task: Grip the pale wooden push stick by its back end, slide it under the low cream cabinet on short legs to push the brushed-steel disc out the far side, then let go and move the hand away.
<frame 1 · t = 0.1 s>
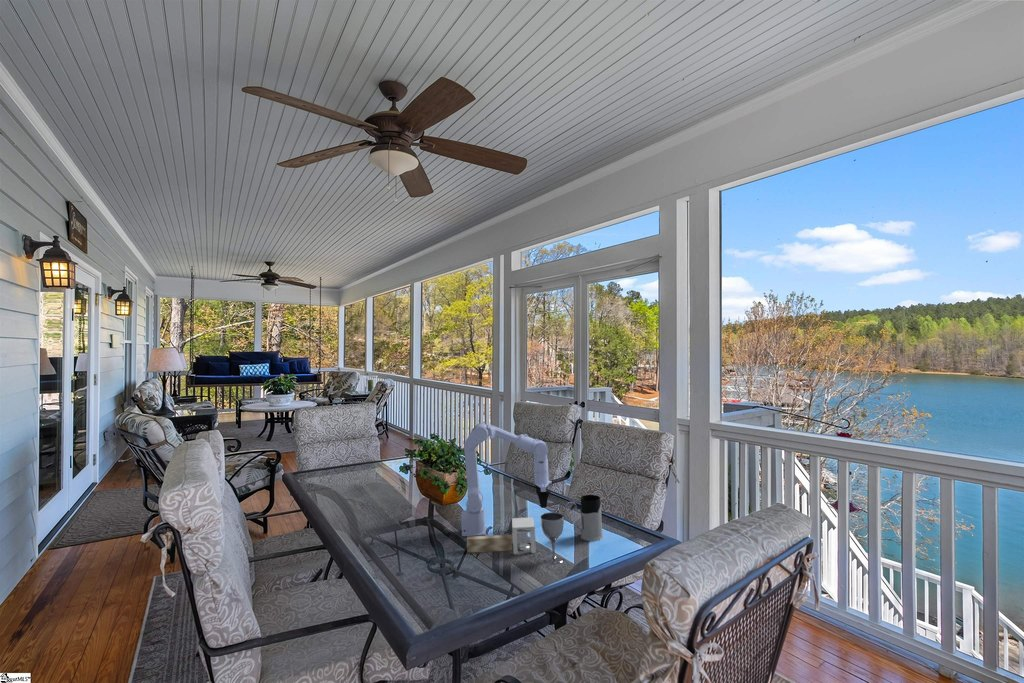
hand: (542, 504, 191), 10 cm above the table, tool pointing down, fingers open, 7 cm apart
push stick: (489, 550, 173), on the table
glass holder: (585, 537, 181), on the table
low cabinet: (524, 548, 173), on the table
wine glass: (554, 560, 162), on the table
steel disc: (524, 549, 173), on the table
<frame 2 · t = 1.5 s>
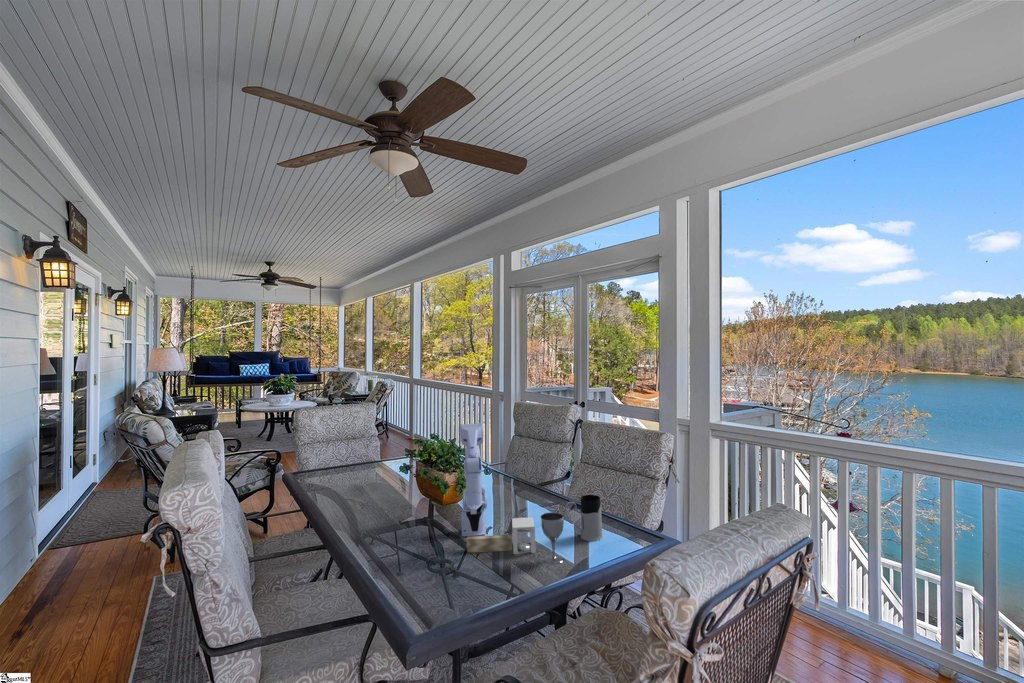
hand: (475, 527, 173), 8 cm above the table, tool pointing down, fingers open, 7 cm apart
nothing on the table moved.
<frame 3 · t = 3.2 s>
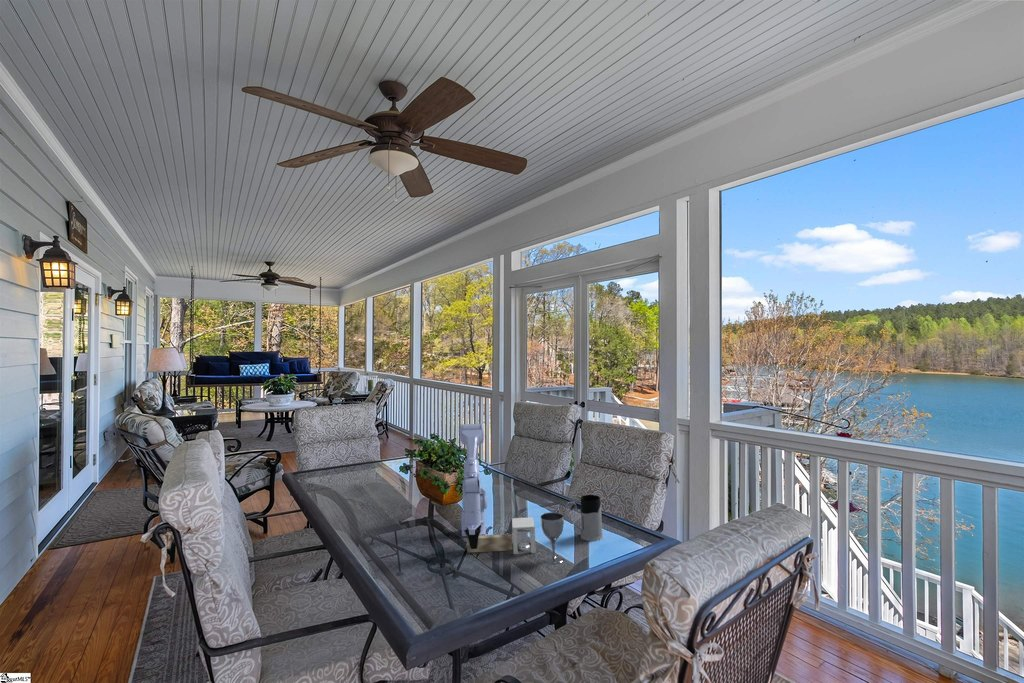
hand: (474, 546, 173), 1 cm above the table, tool pointing down, fingers closed on push stick, 2 cm apart
push stick: (489, 549, 173), on the table, touching gripper
everything else where it was.
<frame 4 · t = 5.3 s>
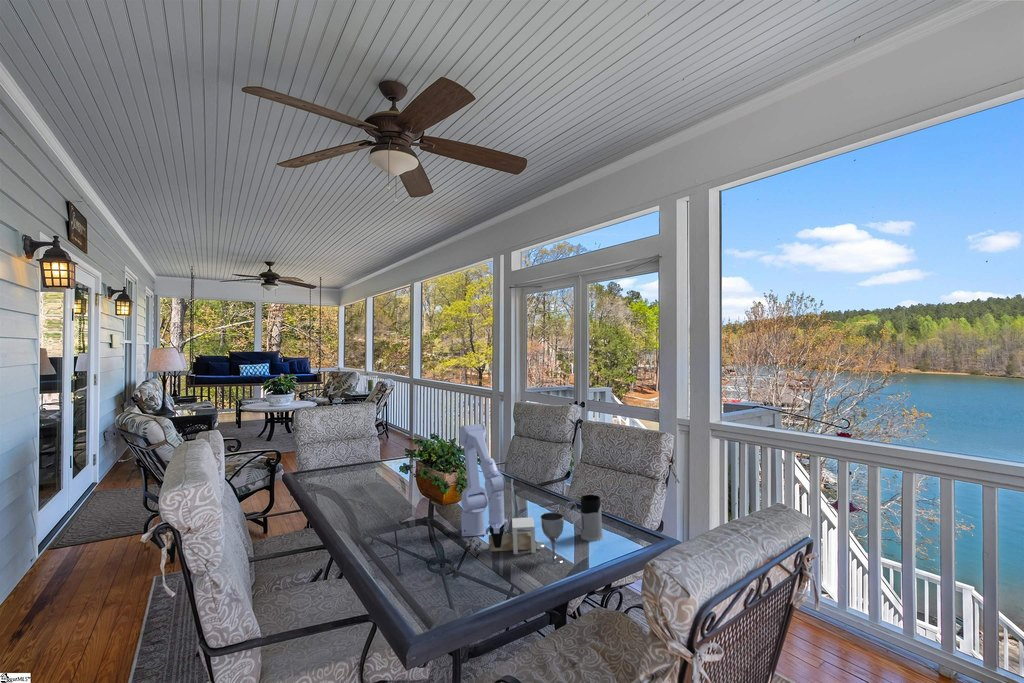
hand: (497, 545, 173), 1 cm above the table, tool pointing down, fingers closed on push stick, 2 cm apart
push stick: (511, 548, 173), on the table, touching gripper
steel disc: (539, 547, 173), on the table
everything else where it was.
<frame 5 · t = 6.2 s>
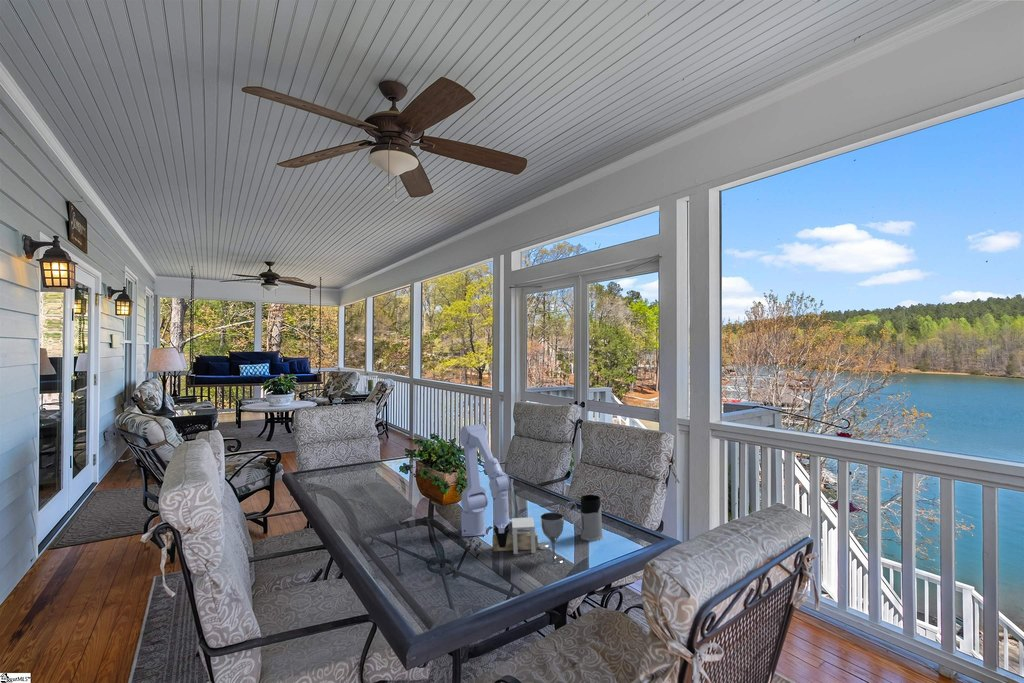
hand: (502, 545, 173), 1 cm above the table, tool pointing down, fingers closed on push stick, 2 cm apart
push stick: (515, 548, 173), on the table, touching gripper
steel disc: (543, 548, 173), on the table
everything else where it was.
when the fingers open (1 cm above the table, at t = 7.1 s): push stick stays where it is, on the table.
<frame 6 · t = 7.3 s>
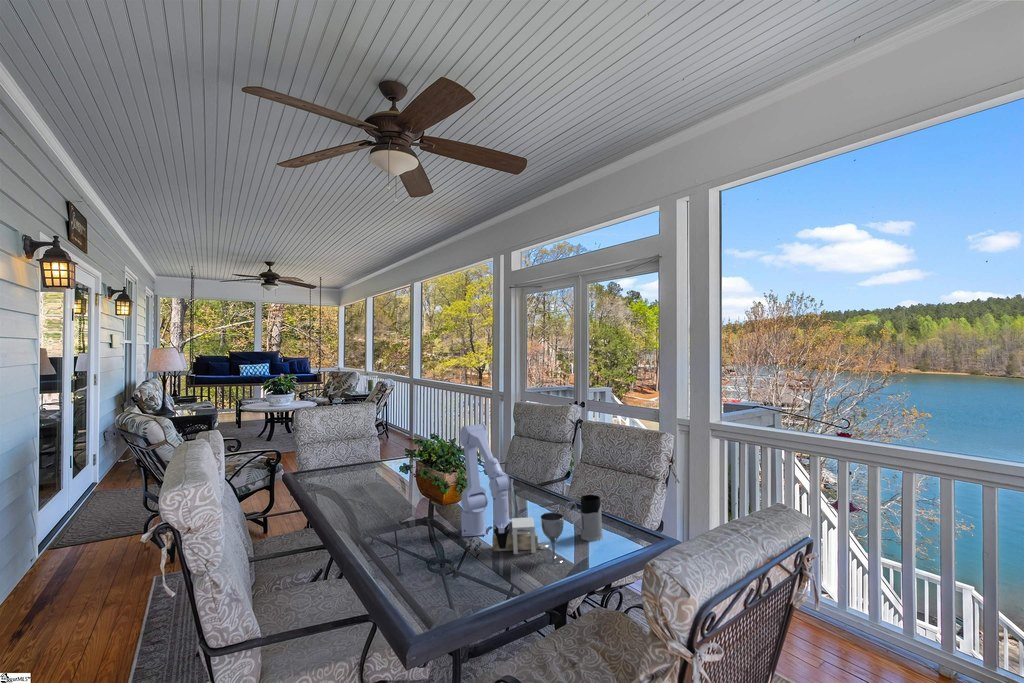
hand: (502, 545, 173), 1 cm above the table, tool pointing down, fingers open, 4 cm apart
push stick: (515, 549, 173), on the table
everything else where it was.
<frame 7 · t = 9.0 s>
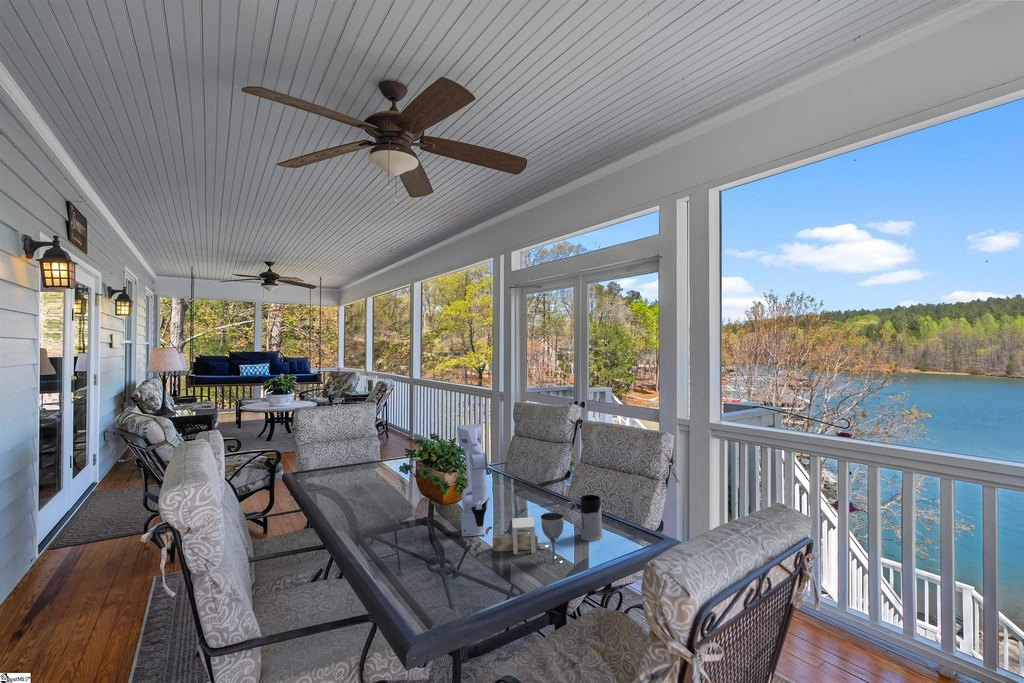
hand: (480, 522, 175), 9 cm above the table, tool pointing down, fingers open, 7 cm apart
nothing on the table moved.
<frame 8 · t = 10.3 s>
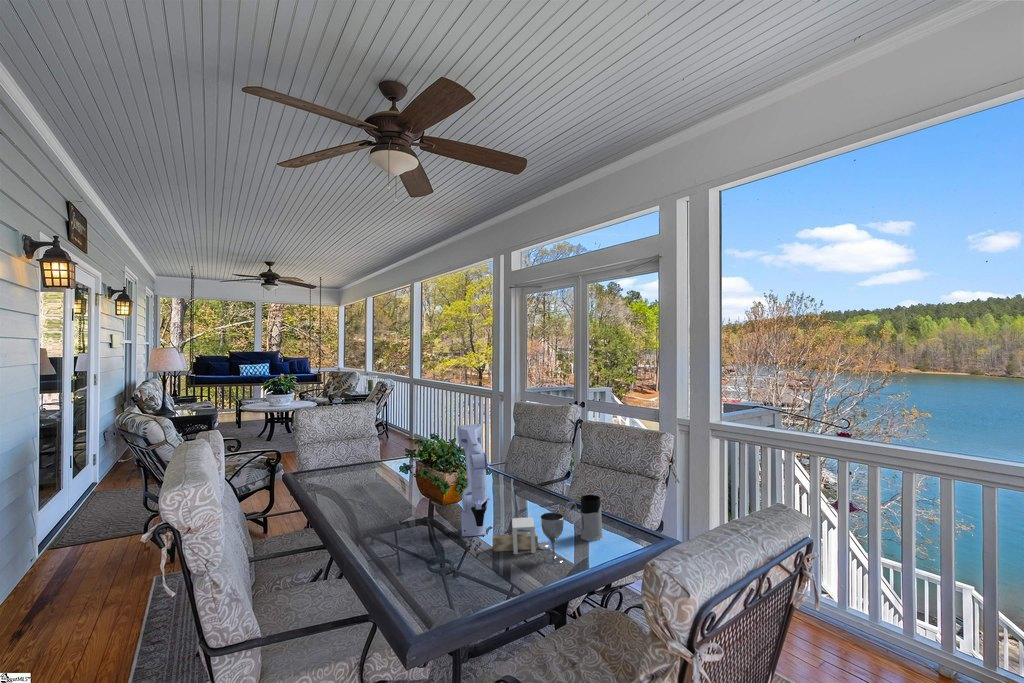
hand: (480, 522, 175), 9 cm above the table, tool pointing down, fingers open, 7 cm apart
nothing on the table moved.
at the end: steel disc inside the target area (5.7 cm from its centre), on the table; steel disc moved 7.3 cm from its start; the gripper is holding nothing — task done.
